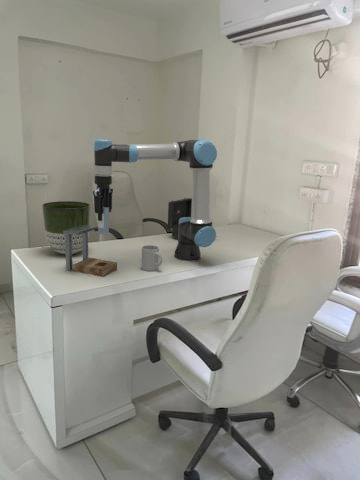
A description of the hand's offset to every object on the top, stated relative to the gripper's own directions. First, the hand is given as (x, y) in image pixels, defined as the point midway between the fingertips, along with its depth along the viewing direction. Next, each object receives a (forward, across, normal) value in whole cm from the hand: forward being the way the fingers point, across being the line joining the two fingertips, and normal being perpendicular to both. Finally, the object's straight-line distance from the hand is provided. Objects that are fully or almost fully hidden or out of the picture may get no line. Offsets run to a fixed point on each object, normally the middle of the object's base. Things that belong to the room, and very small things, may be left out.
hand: (103, 226), depth 169 cm
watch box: (+23, -94, +15) cm, 98 cm away
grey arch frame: (+23, -1, -13) cm, 26 cm away
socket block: (+23, -1, -5) cm, 23 cm away
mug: (+23, -16, +18) cm, 33 cm away
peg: (+3, 0, 0) cm, 3 cm away
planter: (+23, -19, -34) cm, 46 cm away
